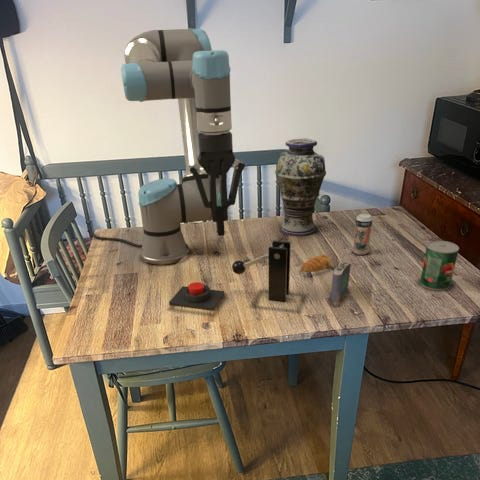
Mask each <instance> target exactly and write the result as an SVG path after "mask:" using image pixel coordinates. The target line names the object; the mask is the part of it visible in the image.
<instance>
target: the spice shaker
mask: <svg viewBox="0 0 480 480" xmlns="http://www.w3.org/2000/svg"><path fill="white" fill-rule="evenodd" d="M372 226H373V218H372V215H371V214H368V213H359V214H358V215H357V216H356V217H355V226H354V227H355V228H354V236H353V237H354V238H353V246H352V252H353V253H354V254H356V255H358V256H359V255H360V256H363V255H364V256H365V255H366V254H368V253H369V250H370V242H371V235H372V234H371V233H372Z"/></svg>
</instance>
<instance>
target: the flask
mask: <svg viewBox="0 0 480 480" xmlns="http://www.w3.org/2000/svg"><path fill="white" fill-rule="evenodd" d="M336 263H338V264H337V265H336V266H335V268H334V270H333V272H332V282H331V293H330V300H331V302H334V303H338V302H340V300H341V298H342V296H343V294H344V293H346V291H348V289H349V281H350V273H351V266H352V263H351V261H349V260H342V259H338V260H337V262H336Z"/></svg>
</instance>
